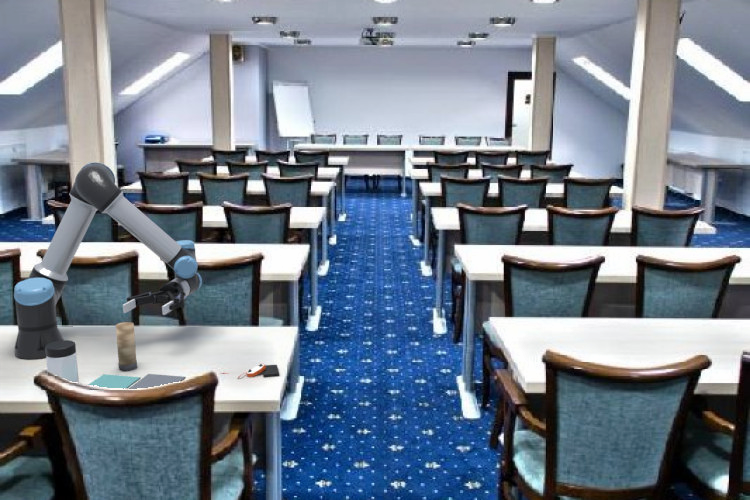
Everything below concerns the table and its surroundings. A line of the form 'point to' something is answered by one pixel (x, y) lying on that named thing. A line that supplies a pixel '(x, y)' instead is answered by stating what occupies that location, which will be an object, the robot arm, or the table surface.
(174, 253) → the robot arm
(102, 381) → the teal seat
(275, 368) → the multimeter
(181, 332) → the table surface
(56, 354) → the jar
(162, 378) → the slate seat
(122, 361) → the banded sleeve
